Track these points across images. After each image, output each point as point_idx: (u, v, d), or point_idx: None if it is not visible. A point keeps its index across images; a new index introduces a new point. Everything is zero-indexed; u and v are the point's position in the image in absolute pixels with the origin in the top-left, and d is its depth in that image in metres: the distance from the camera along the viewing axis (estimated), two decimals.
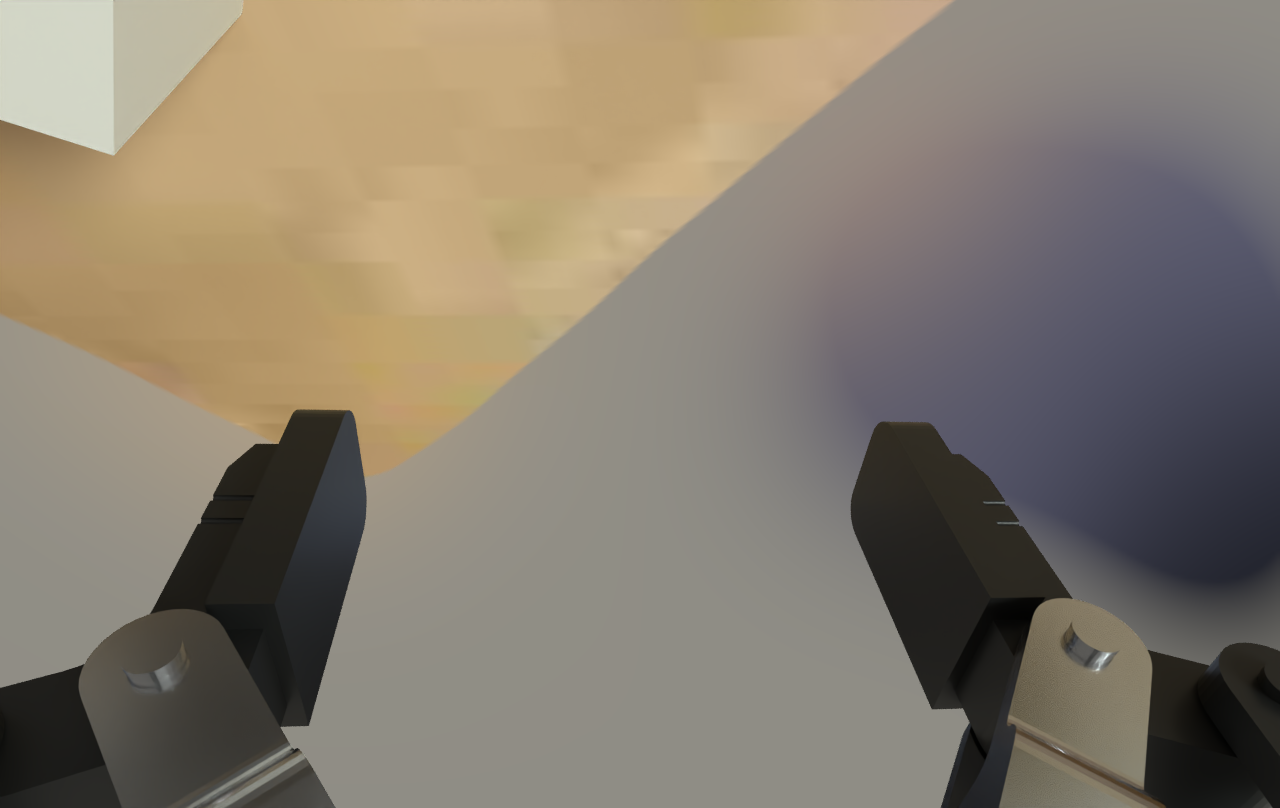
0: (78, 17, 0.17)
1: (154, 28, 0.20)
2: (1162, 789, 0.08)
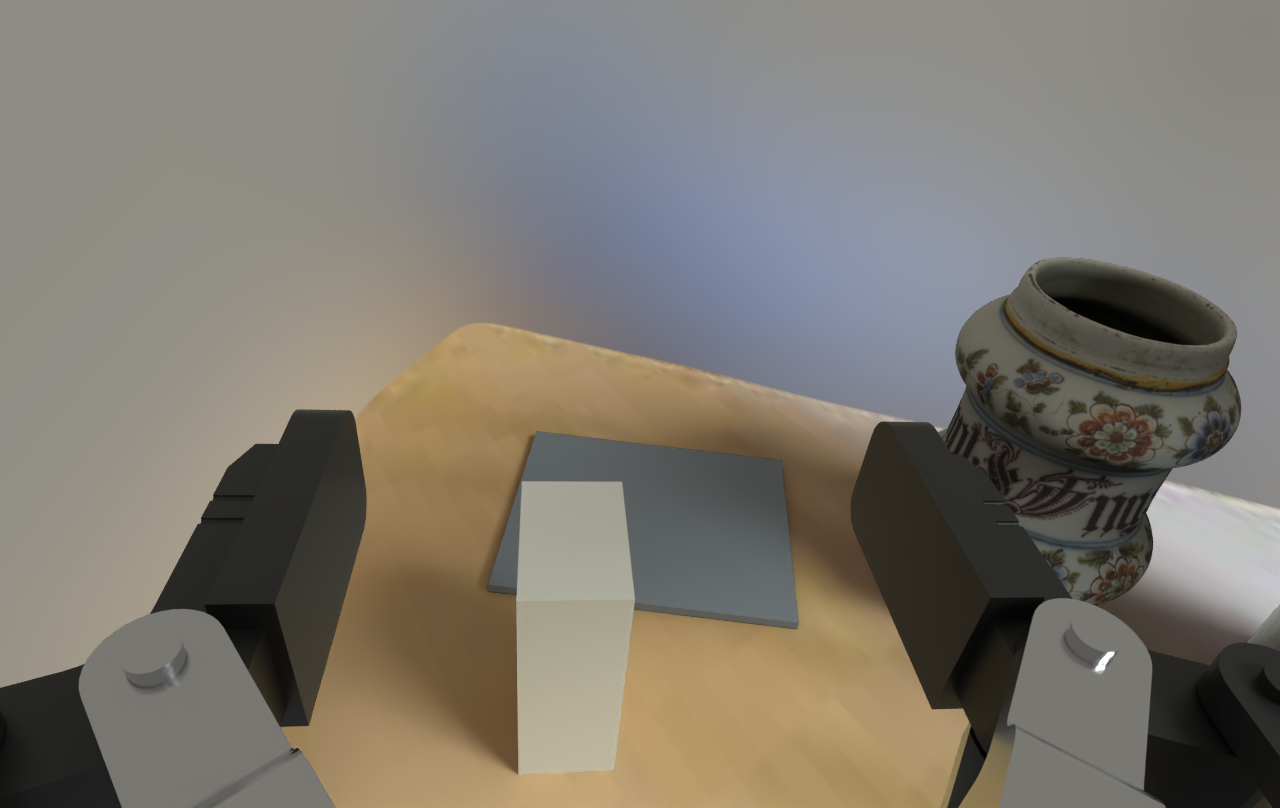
0: (612, 584, 0.27)
1: (585, 647, 0.28)
2: (1162, 789, 0.08)
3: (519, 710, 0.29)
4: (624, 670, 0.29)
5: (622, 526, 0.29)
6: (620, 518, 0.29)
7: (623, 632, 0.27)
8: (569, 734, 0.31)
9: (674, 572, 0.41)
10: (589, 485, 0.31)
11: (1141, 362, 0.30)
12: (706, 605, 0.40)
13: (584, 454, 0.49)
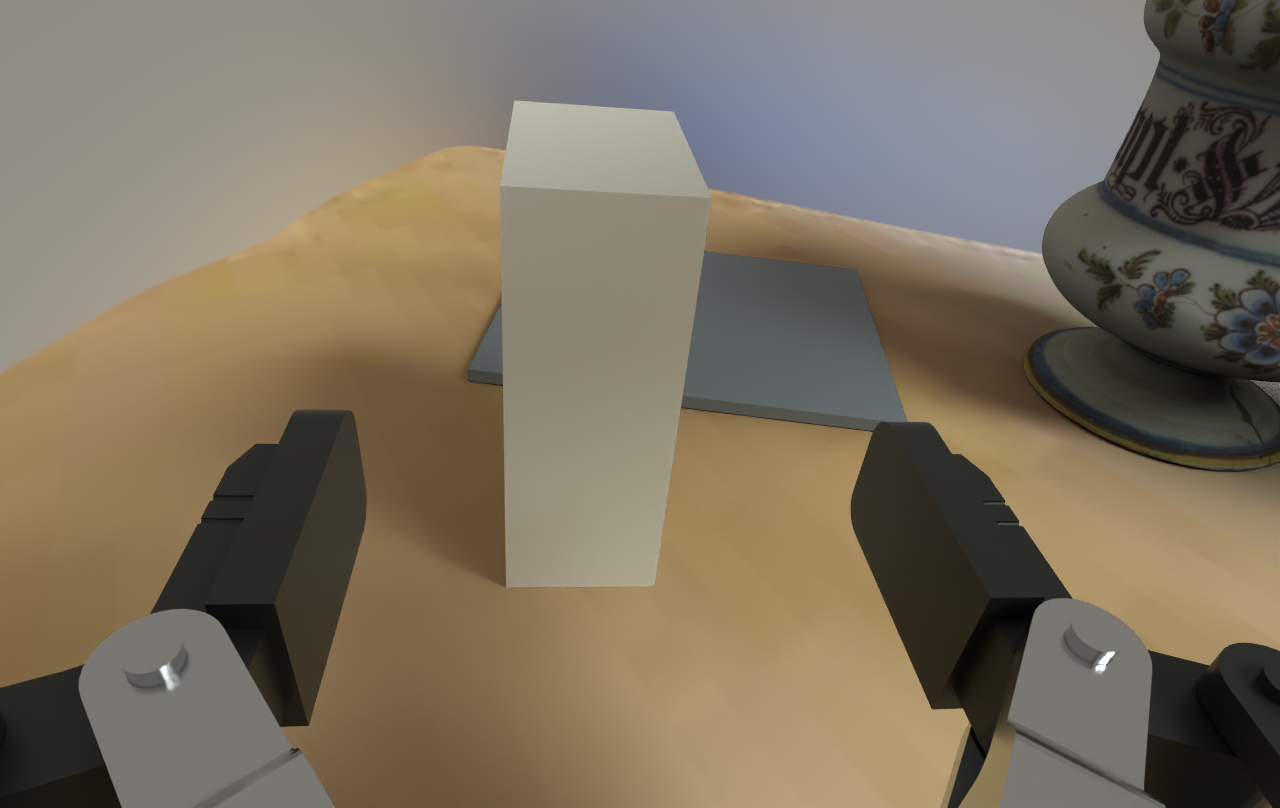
0: (670, 183, 0.15)
1: (619, 314, 0.16)
2: (1162, 789, 0.08)
3: (507, 452, 0.18)
4: (683, 372, 0.17)
5: (679, 141, 0.18)
6: (675, 136, 0.18)
7: (686, 279, 0.16)
8: (587, 509, 0.19)
9: (728, 367, 0.30)
10: (621, 110, 0.19)
11: None
12: (776, 401, 0.28)
13: None
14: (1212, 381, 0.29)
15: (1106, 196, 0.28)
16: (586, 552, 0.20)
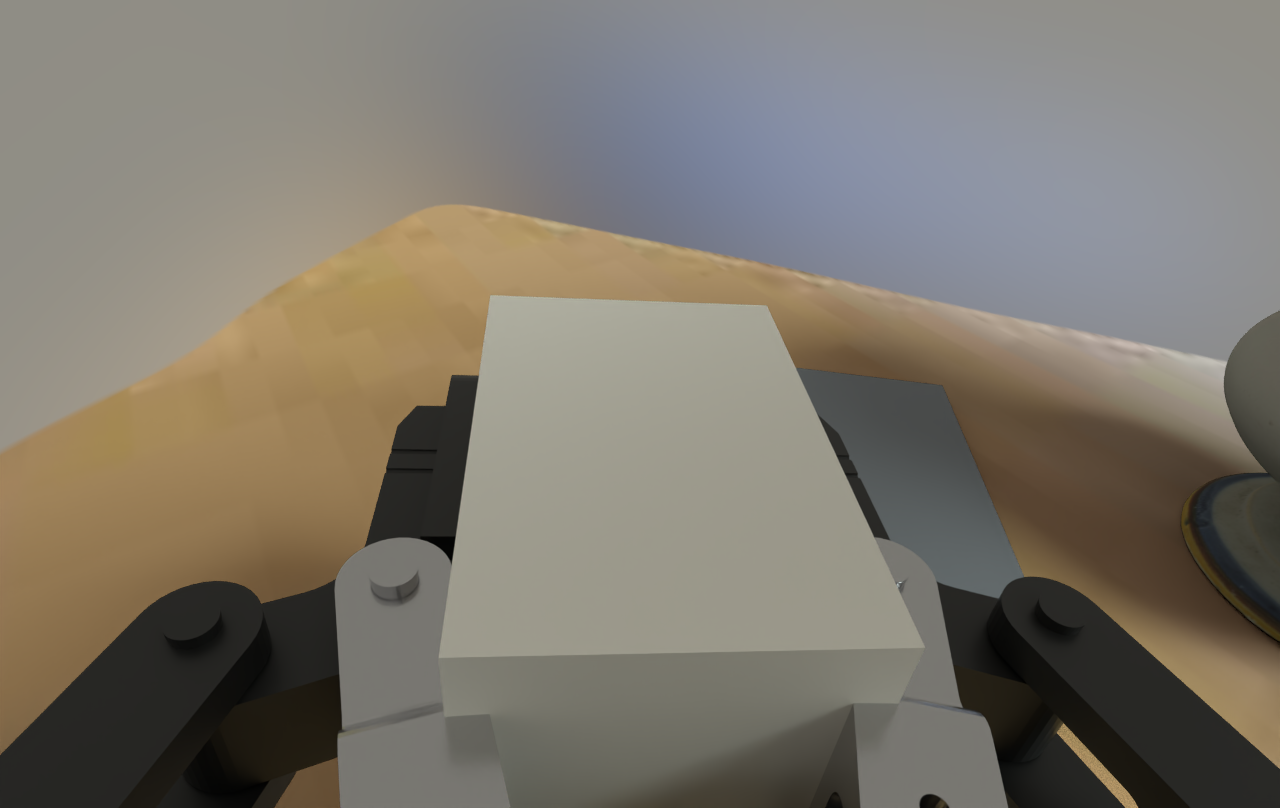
0: (820, 586, 0.07)
1: None
2: None
3: None
4: None
5: (799, 406, 0.09)
6: (787, 386, 0.10)
7: None
8: None
9: None
10: (678, 309, 0.11)
11: None
12: None
13: None
14: None
15: None
16: None
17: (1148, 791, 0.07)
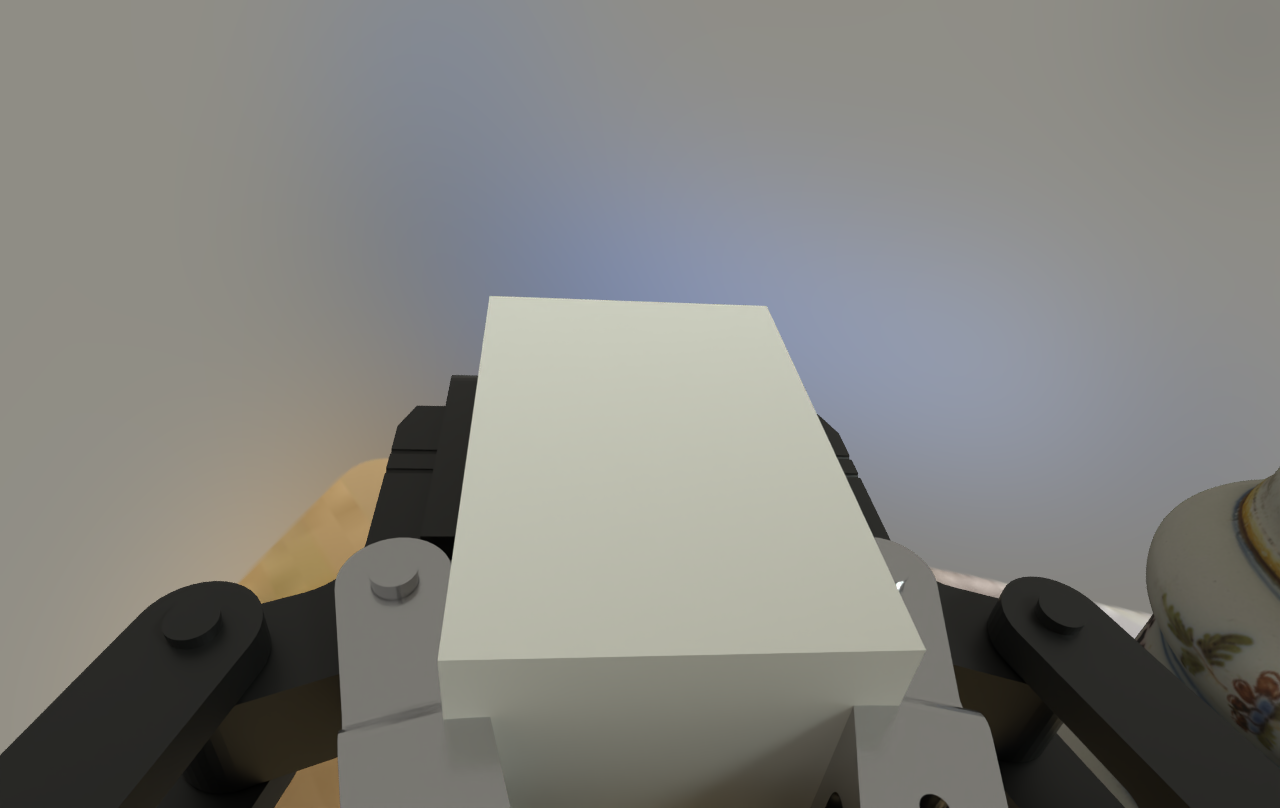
0: (821, 587, 0.07)
1: None
2: None
3: None
4: None
5: (799, 406, 0.09)
6: (787, 386, 0.10)
7: None
8: None
9: None
10: (677, 310, 0.11)
11: None
12: None
13: None
14: None
15: None
16: None
17: (1148, 791, 0.07)
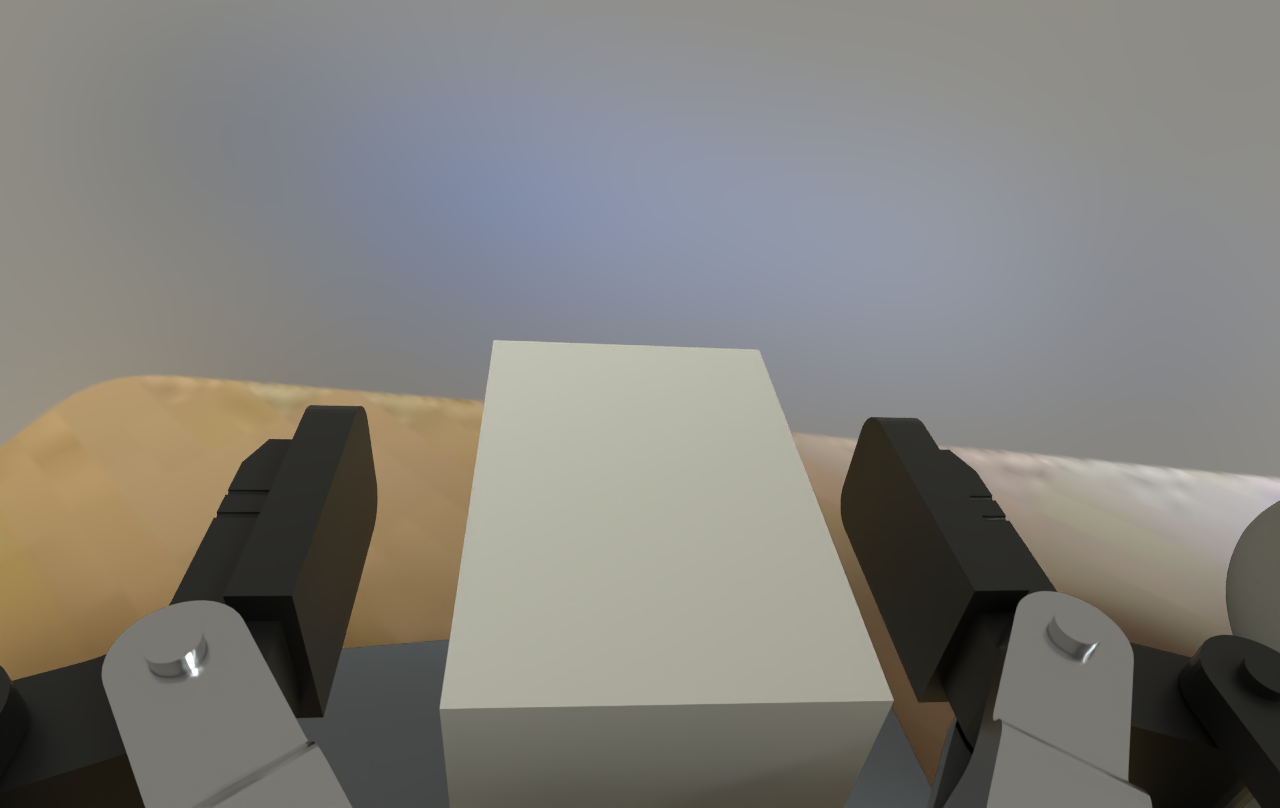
0: (798, 637, 0.07)
1: None
2: (1147, 782, 0.08)
3: None
4: None
5: (786, 454, 0.10)
6: (775, 433, 0.10)
7: (821, 801, 0.08)
8: None
9: None
10: (673, 354, 0.11)
11: None
12: None
13: (378, 706, 0.18)
14: None
15: None
16: None
17: None
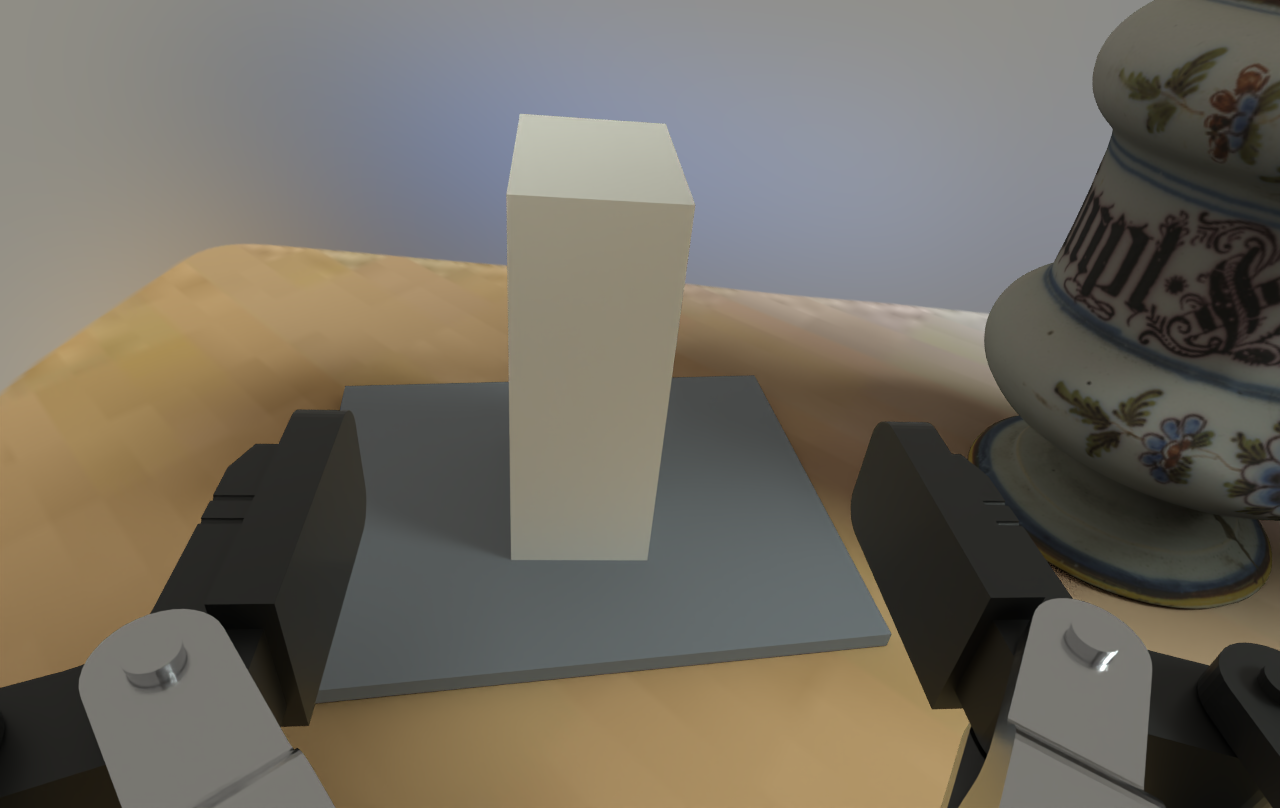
0: (659, 191, 0.17)
1: (613, 308, 0.18)
2: (1162, 789, 0.08)
3: (512, 434, 0.20)
4: (671, 361, 0.19)
5: (669, 152, 0.19)
6: (666, 147, 0.20)
7: (673, 278, 0.17)
8: (585, 487, 0.21)
9: (648, 586, 0.22)
10: (618, 123, 0.21)
11: None
12: (725, 638, 0.21)
13: (438, 411, 0.28)
14: None
15: (1069, 308, 0.23)
16: (584, 527, 0.22)
17: None
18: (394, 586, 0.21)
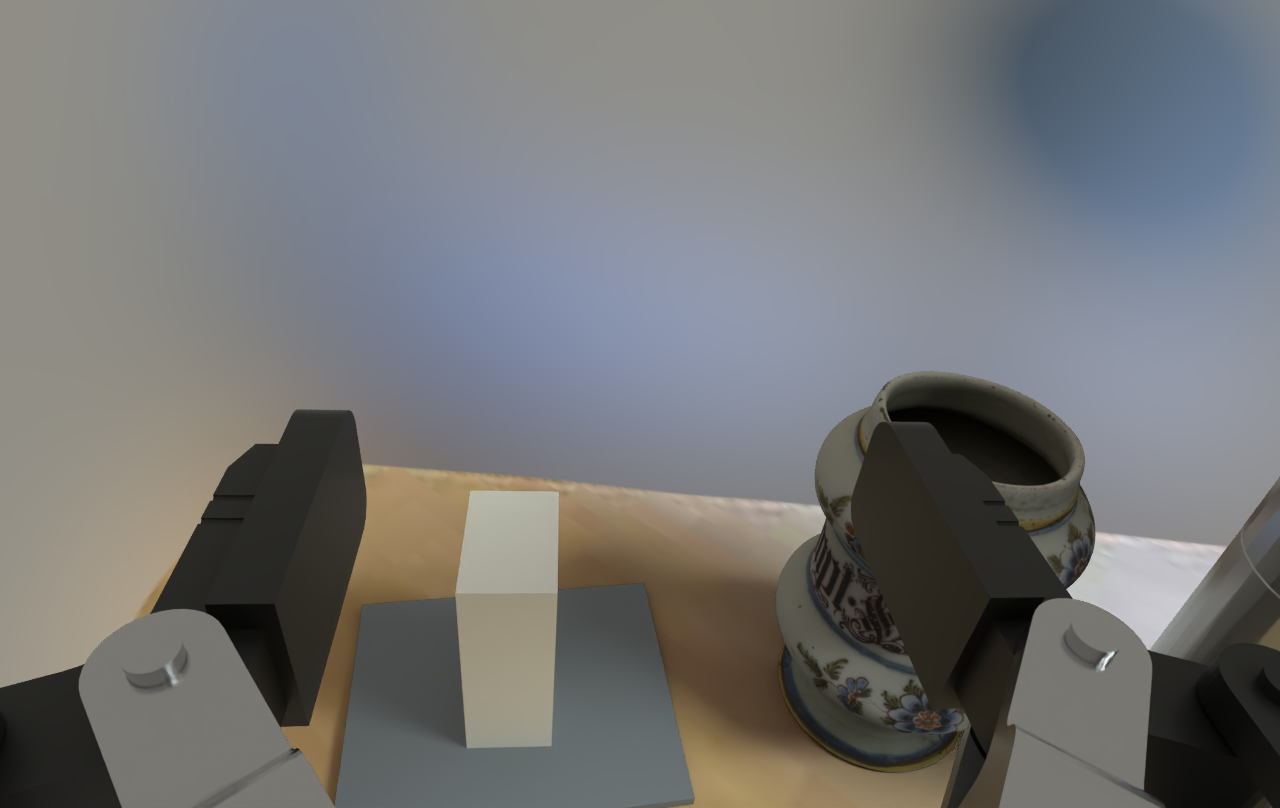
0: (540, 580, 0.31)
1: (517, 635, 0.32)
2: (1162, 789, 0.08)
3: (464, 689, 0.34)
4: (553, 655, 0.33)
5: (554, 530, 0.34)
6: (553, 524, 0.34)
7: (549, 621, 0.32)
8: (509, 712, 0.35)
9: (549, 766, 0.36)
10: (529, 494, 0.35)
11: None
12: (592, 803, 0.35)
13: (424, 625, 0.42)
14: None
15: (811, 591, 0.37)
16: (510, 731, 0.36)
17: None
18: (395, 770, 0.35)
